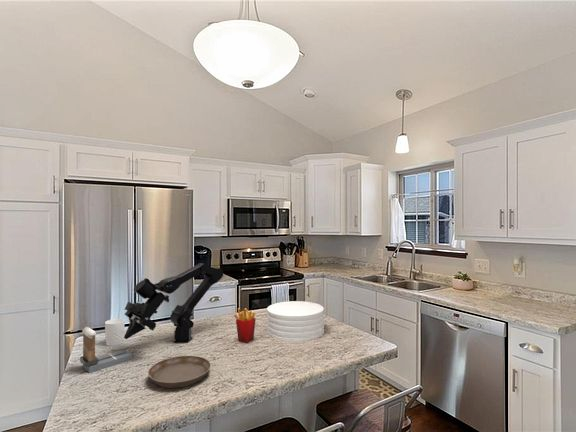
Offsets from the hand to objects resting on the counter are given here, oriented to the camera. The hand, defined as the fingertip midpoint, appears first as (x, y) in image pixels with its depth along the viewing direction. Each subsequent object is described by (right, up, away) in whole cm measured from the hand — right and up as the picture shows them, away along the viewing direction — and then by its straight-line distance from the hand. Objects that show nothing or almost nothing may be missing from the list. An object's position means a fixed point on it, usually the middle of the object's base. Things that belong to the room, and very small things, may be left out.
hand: (124, 338), depth 127 cm
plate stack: (+69, -8, +30) cm, 76 cm away
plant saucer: (+28, -7, -16) cm, 33 cm away
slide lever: (-9, -5, -9) cm, 14 cm away
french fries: (+46, -8, +16) cm, 50 cm away
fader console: (-4, -8, -5) cm, 10 cm away
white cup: (-13, -9, +16) cm, 22 cm away
